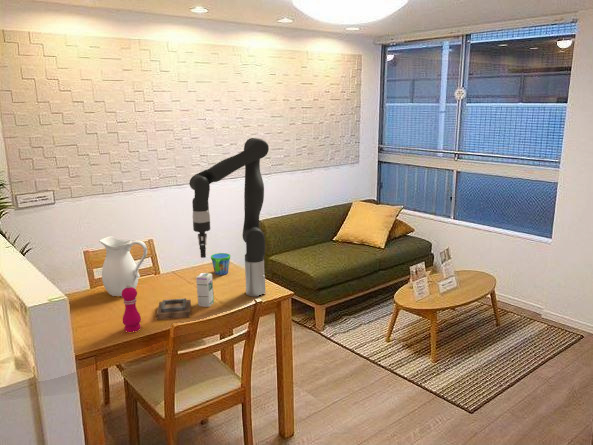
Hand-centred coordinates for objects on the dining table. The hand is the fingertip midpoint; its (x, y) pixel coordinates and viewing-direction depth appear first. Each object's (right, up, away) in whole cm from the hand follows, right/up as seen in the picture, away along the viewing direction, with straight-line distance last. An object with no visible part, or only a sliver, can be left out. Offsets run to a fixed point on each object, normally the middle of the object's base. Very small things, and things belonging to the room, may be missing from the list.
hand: (203, 254), depth 223 cm
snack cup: (+1, -14, +48) cm, 50 cm away
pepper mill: (-26, -30, -20) cm, 44 cm away
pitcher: (-41, -21, +20) cm, 50 cm away
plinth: (-13, -26, -3) cm, 29 cm away
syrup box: (0, -24, +6) cm, 24 cm away
